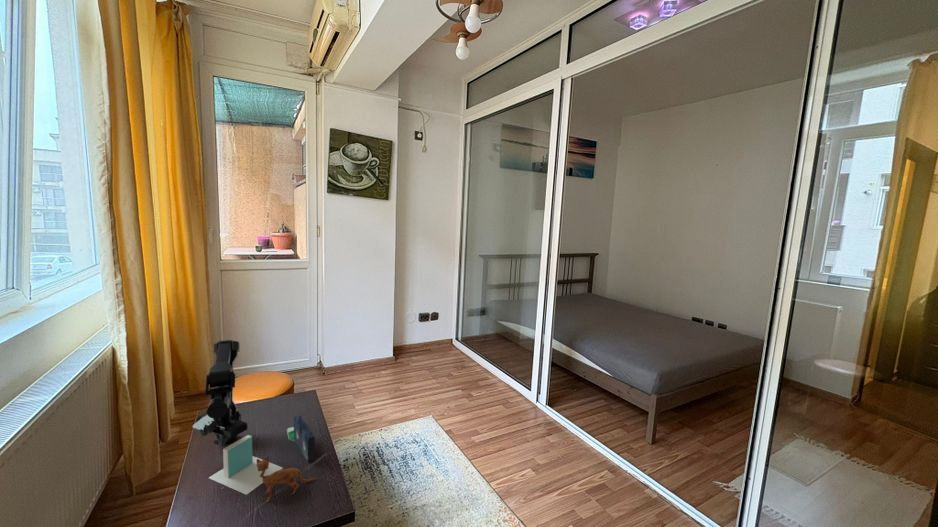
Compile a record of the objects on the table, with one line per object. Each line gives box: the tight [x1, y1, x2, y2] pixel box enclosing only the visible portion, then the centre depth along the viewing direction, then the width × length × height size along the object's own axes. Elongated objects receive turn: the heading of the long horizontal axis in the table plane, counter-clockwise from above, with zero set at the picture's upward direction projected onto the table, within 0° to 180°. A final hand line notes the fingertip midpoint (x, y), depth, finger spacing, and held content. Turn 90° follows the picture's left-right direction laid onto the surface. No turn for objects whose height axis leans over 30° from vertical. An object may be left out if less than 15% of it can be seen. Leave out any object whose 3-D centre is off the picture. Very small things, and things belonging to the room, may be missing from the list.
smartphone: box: [286, 426, 296, 443], centre depth 148 cm, size 7×1×15 cm
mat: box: [208, 455, 284, 496], centre depth 125 cm, size 18×14×1 cm
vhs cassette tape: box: [293, 414, 316, 463], centre depth 139 cm, size 18×3×10 cm, turn 39°
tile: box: [222, 434, 254, 478], centre depth 126 cm, size 2×9×10 cm, turn 159°
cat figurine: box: [257, 455, 317, 504], centre depth 118 cm, size 18×7×14 cm, turn 128°
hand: (222, 445), depth 129 cm, fingers closed
